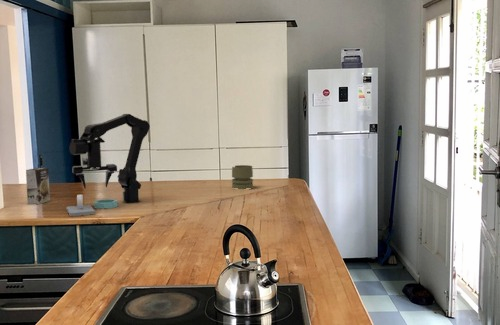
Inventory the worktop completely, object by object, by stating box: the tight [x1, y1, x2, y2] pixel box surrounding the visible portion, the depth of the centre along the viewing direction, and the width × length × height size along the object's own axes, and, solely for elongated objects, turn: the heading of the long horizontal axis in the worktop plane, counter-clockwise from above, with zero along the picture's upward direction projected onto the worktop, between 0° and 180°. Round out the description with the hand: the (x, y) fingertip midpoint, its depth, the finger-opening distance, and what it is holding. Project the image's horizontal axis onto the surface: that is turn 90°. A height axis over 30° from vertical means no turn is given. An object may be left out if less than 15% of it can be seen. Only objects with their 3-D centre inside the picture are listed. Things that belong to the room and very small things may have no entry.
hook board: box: [65, 194, 96, 217], centre depth 223 cm, size 10×15×8 cm, turn 25°
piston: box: [231, 164, 254, 189], centre depth 284 cm, size 11×12×11 cm
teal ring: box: [93, 198, 119, 210], centre depth 236 cm, size 10×10×2 cm
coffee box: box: [25, 167, 51, 205], centre depth 247 cm, size 9×6×16 cm
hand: (95, 187), depth 233 cm, fingers open, 9 cm apart
